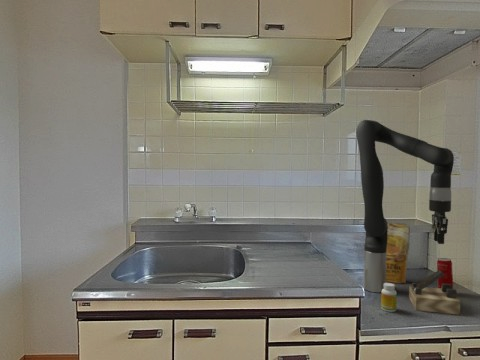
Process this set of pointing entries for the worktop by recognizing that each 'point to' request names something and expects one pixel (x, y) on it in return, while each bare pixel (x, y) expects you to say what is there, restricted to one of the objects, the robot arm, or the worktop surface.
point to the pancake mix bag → (397, 252)
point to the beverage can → (445, 272)
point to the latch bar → (429, 280)
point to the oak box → (435, 299)
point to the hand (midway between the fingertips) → (438, 242)
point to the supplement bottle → (388, 297)
